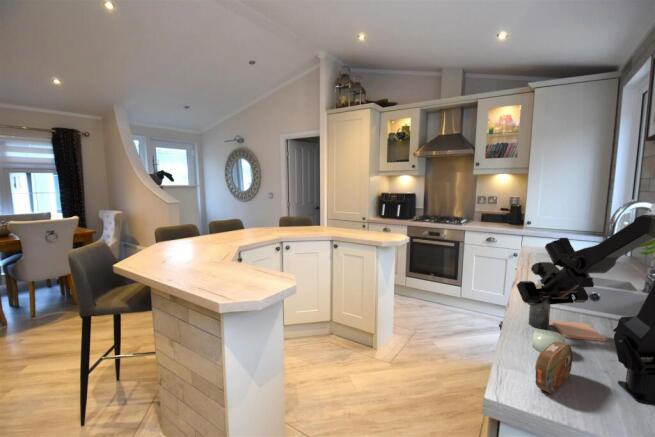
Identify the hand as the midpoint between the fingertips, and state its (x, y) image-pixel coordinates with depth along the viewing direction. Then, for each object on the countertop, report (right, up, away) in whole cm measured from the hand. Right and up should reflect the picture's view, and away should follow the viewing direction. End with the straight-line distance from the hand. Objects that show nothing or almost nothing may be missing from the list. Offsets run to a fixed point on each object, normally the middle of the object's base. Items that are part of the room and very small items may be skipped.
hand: (537, 303), depth 101 cm
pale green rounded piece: (-7, -9, -15) cm, 19 cm away
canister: (0, -7, -1) cm, 7 cm away
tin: (-16, -10, -29) cm, 35 cm away
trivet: (+9, -7, -5) cm, 12 cm away
